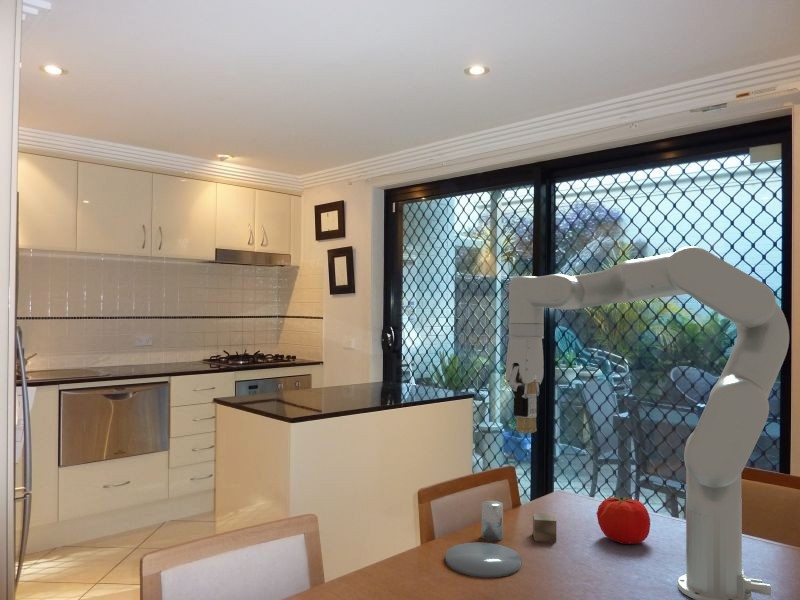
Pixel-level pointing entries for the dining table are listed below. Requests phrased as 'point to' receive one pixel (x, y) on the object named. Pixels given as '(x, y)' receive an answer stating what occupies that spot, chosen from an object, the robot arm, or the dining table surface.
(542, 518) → the walnut block
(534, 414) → the sprinkles bottle
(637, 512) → the tomato
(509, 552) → the grey plate
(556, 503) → the dining table surface
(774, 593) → the dining table surface
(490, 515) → the metal tin
